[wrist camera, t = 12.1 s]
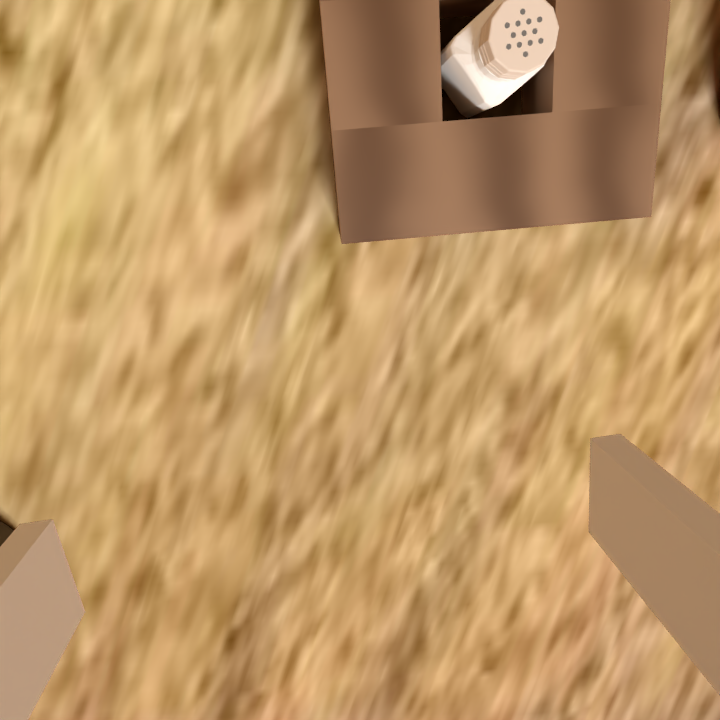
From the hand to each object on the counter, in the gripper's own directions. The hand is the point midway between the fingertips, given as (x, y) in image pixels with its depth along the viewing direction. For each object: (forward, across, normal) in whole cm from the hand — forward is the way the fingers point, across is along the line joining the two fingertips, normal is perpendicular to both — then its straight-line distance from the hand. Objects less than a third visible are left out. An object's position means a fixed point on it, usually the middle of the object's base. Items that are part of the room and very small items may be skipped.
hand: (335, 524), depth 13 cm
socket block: (+25, +11, +13) cm, 30 cm away
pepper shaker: (+25, +11, +13) cm, 30 cm away
